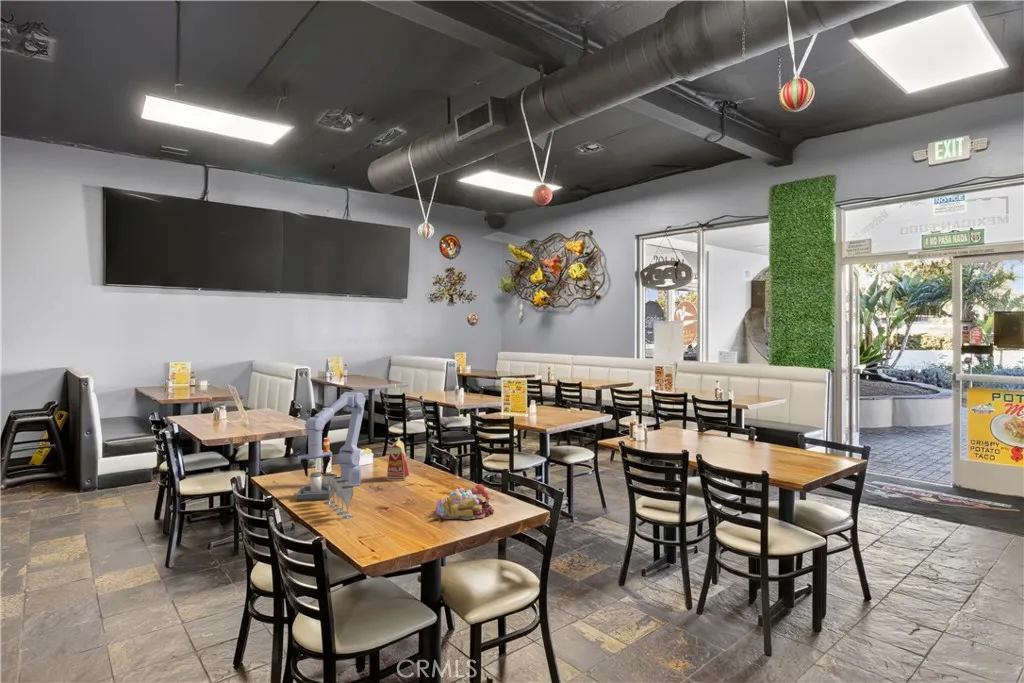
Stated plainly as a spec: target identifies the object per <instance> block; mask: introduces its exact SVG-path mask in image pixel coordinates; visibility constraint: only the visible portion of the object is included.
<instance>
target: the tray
mask: <svg viewBox="0 0 1024 683" xmlns="http://www.w3.org/2000/svg"><path fill="white" fill-rule="evenodd" d="M332 498H333V492H332V490H331V491H330V500H331V499H332ZM316 501H318V502H319V501H320V502H321V501H329V492H328V489H327V488H326V487H325V486H324V485H323V484H321V493H310V485H302V486H301V487H300V489H299V490H298V491H297V493H296V494H295V503H296V502H297V503H298V502H316Z"/></svg>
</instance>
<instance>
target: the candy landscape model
mask: <svg viewBox="0 0 1024 683" xmlns="http://www.w3.org/2000/svg"><path fill="white" fill-rule="evenodd" d="M476 494H477V495H481V496H482V497H483V498H484V499H485V500H483V499H481V498H480V497H479V498H478V496H477V495H476ZM490 499H491V497H490V496H489V492H488V491H487V490H485V486H484V485H483V484H482V483H479V484H476V485H475V487H473V488H471V490H470V489H467V490H465V489H464V488H463V487H460V488H459V489H458V488H456V489H454V492H453V491H452V492H450V494H449V496H448V497H445V498H444V500H442V499H441V498H437V500H436V506H435V515H437V516H438V517H439V516H440V518H442V519H443V520H445V519H446V520H452V519H459V520H472V519H473V520H476V519H482V518H485V517H486V516H488V517H491V514H494V512H495V509H493V503H492V502H491V500H490Z"/></svg>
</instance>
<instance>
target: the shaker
mask: <svg viewBox="0 0 1024 683" xmlns="http://www.w3.org/2000/svg"><path fill="white" fill-rule="evenodd" d="M309 477H310V482H309V483H310V485H309V486H310V493H321V485H322V473H321V472H319V471H318V472H317V471H316V472H312V473H310V476H309Z"/></svg>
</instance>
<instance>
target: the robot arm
mask: <svg viewBox="0 0 1024 683" xmlns="http://www.w3.org/2000/svg"><path fill="white" fill-rule="evenodd" d="M365 403H366V397H365V395H364V393H362V392H350V391H345V392H343V393H342V394H341V395H340V396H339V398H338V399H337V400H336V401H335V402H334V403H333V404H332V405H331V406H329V407H323V408H322V409H321V410H320V411H319V412H318V413H316V414H314V416H312V417H309V418H308V419H307V420H306V421H305V423H304V428H305V429H306V434H307V438H308V439H307V441H308V442H307V443H308V444H307V447H308V448H307V450H308V453H305V454H302V455H297V461H298V462H300V464H301V466H302V468H303V471H304V475H305V477H308V476H309V471H308V468H309V462H308V460H315V459H321V458H322V473H323V474H324V475H325V474H327V469H328V466H329V463H330V461H331V457H333V452H332V451H325V452H323V436H322V433H323V430H324V428H325V425H326V424H327V423H328V422H330V421H331V420H332V419H334V416H335V413H337V412H338V411H339V410H342V409H343V408H345V407H346V408H347V409H349V411H350V412H351V414H350V420H349V423H348V428H347V434H346V438H345V442H344V445H342V446H341V447H340V448H339V452H338V453H337V456H336V461H337V463H338V464H339V466H340V477H342V480H348V481H349V486H353V487H358V486H361V483H362V466H361V464H360V465H358V464H359V463H360V459H361V456H360V455H361V450H360V449H359V447H358V442H359V441H358V440H359V436H360V431H361V426H362V421H363V417H364V412H365Z"/></svg>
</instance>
